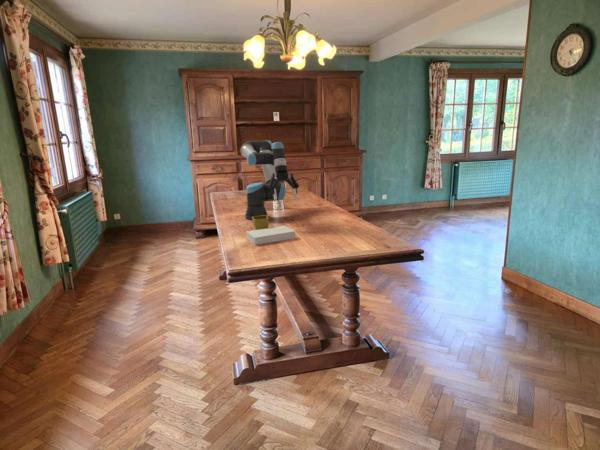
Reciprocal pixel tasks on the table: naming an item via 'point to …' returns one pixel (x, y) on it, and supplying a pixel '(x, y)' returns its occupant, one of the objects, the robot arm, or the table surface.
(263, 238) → the white stand
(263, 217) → the flower pot
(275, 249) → the table surface
